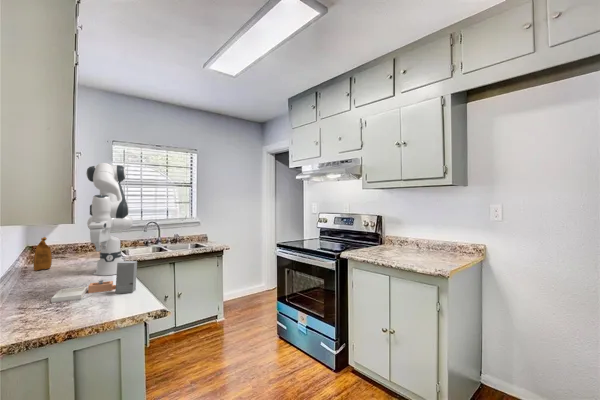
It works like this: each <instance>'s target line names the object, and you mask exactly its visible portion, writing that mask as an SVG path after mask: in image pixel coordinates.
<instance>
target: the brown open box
mask: <svg viewBox="0 0 600 400" xmlns="http://www.w3.org/2000/svg"><path fill="white" fill-rule="evenodd" d="M113 290H116V284H114V281H113V280H110V281H103V284H100V285H99V281H97V282H90V283H89V285H88V286H87V292H88V294H92V293H102V292H112V291H113Z"/></svg>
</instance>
